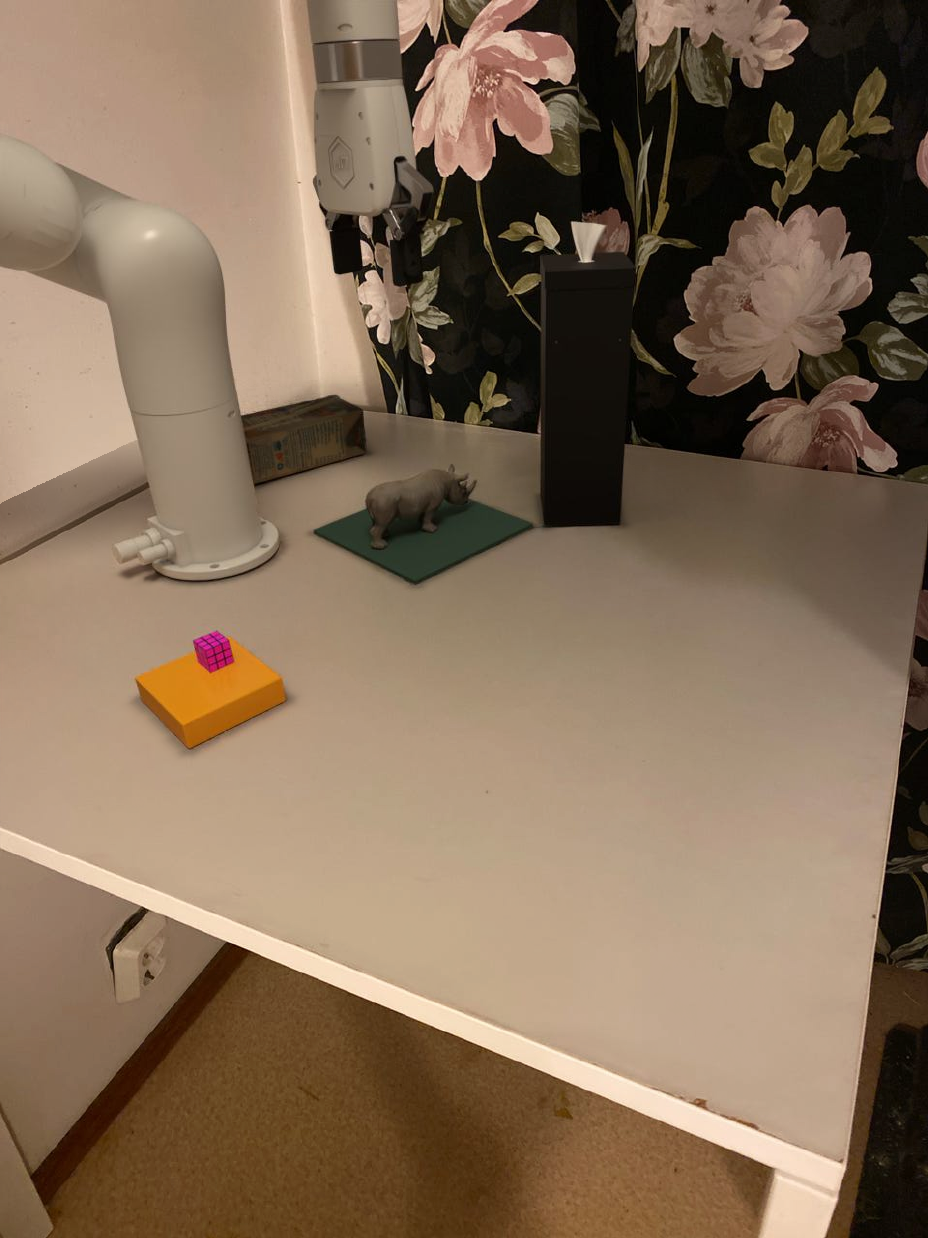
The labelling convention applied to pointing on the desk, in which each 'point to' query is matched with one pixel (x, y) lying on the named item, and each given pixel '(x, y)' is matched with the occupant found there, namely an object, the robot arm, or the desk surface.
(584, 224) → the tissue box
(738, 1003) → the desk surface
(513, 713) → the desk surface
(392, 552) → the mat
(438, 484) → the rhino figurine
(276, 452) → the beverage carton
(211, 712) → the orange block
